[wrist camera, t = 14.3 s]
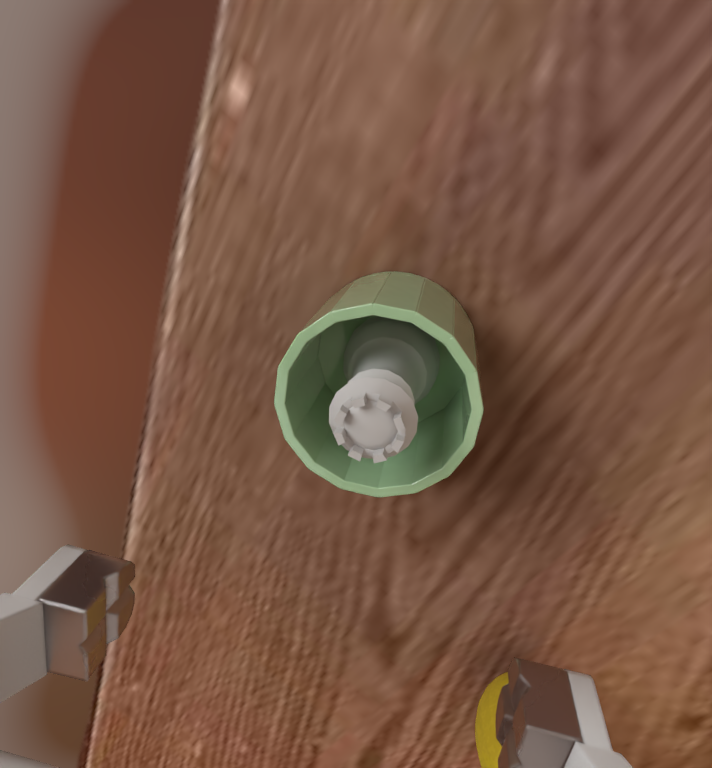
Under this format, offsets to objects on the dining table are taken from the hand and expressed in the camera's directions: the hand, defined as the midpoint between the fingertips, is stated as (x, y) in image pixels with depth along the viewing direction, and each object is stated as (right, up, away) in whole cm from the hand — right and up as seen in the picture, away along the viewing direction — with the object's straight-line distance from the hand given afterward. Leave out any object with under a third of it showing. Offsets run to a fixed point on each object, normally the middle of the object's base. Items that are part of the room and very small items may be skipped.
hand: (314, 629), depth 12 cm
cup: (+3, +7, +16) cm, 17 cm away
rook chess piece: (+3, +6, +15) cm, 17 cm away
